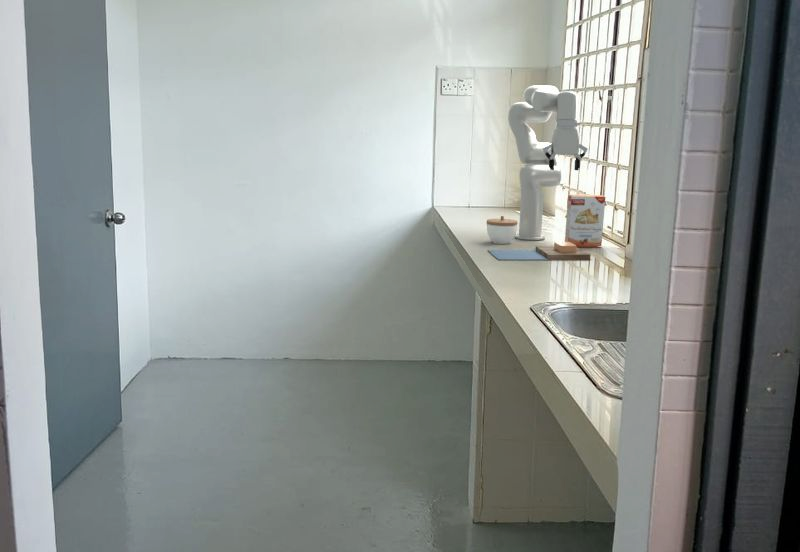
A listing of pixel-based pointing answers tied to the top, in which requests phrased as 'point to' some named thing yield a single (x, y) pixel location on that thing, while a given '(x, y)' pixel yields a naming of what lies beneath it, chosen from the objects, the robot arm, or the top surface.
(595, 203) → the cracker box
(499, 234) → the lidded bowl
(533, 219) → the robot arm
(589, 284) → the top surface
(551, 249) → the board
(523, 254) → the mat
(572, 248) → the block
